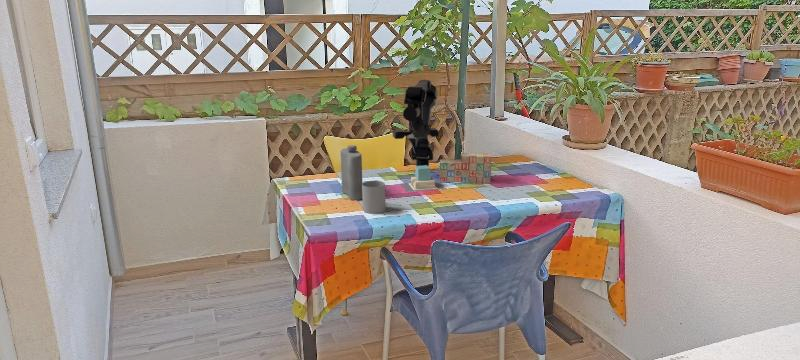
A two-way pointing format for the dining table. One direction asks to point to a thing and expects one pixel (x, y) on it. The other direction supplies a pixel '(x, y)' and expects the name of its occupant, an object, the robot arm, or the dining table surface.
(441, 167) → the stack of blocks
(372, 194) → the cup
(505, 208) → the dining table surface
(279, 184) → the dining table surface
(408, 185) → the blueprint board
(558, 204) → the dining table surface
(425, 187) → the maple slab
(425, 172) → the teal cube
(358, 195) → the flask
